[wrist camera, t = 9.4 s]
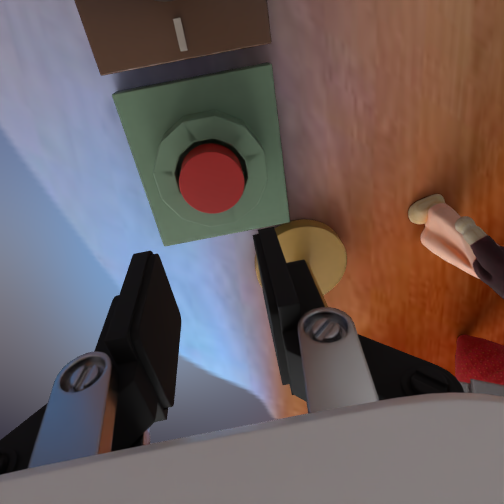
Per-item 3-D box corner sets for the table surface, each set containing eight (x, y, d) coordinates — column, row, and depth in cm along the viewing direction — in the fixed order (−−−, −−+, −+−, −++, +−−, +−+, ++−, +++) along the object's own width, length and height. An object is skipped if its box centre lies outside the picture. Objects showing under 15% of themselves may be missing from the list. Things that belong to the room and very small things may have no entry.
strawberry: (441, 371, 38) (509, 470, 29) (419, 329, 34) (490, 429, 25) (496, 346, 36) (584, 441, 28) (480, 300, 33) (575, 394, 24)
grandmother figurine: (385, 218, 27) (502, 341, 16) (422, 176, 25) (578, 281, 15) (449, 260, 30) (585, 388, 19) (486, 224, 28) (656, 342, 18)
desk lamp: (240, 224, 26) (356, 920, 6) (347, 203, 26) (851, 819, 6) (256, 306, 30) (357, 871, 10) (349, 288, 30) (639, 814, 10)
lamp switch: (173, 149, 20) (170, 158, 19) (236, 137, 20) (238, 145, 19) (189, 206, 22) (188, 219, 21) (246, 195, 22) (249, 207, 21)
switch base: (115, 91, 21) (103, 99, 18) (268, 62, 21) (277, 66, 18) (165, 238, 26) (161, 260, 23) (287, 215, 26) (295, 234, 23)
